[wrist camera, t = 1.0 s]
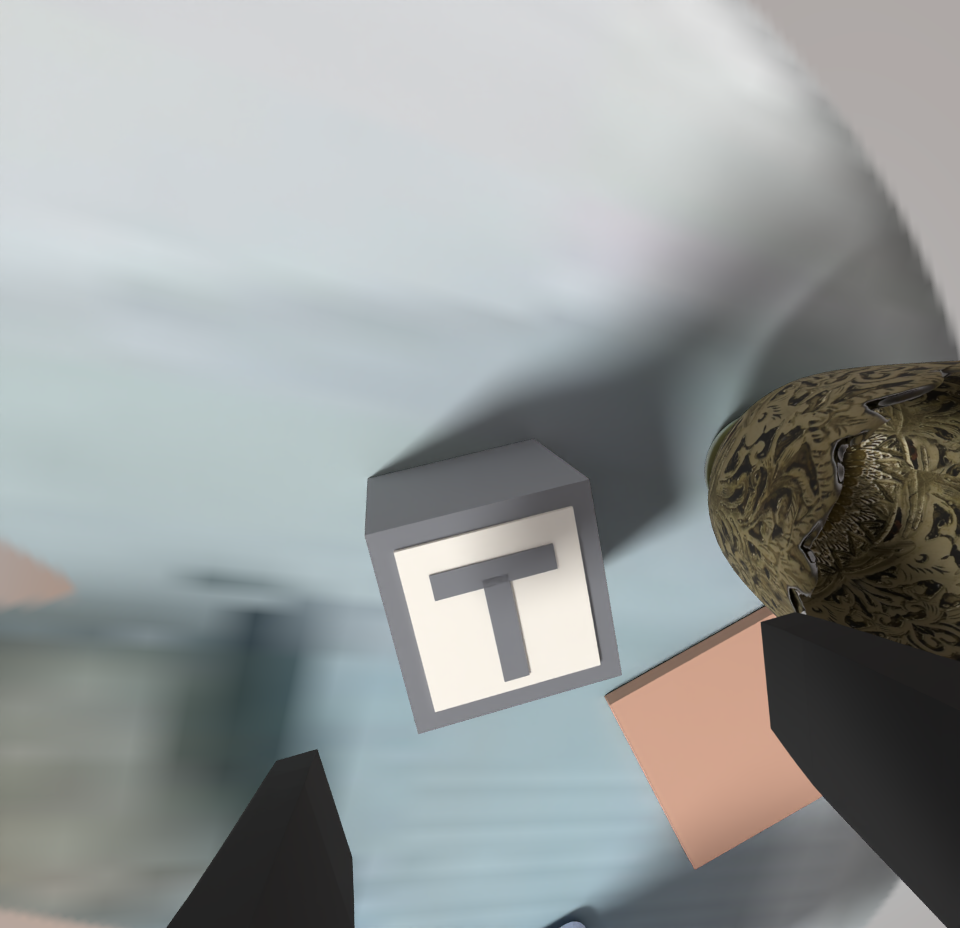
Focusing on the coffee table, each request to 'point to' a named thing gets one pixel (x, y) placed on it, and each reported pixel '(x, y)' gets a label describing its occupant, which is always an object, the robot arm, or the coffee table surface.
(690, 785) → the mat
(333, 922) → the robot arm
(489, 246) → the coffee table surface
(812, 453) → the cup
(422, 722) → the letter block
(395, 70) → the coffee table surface
